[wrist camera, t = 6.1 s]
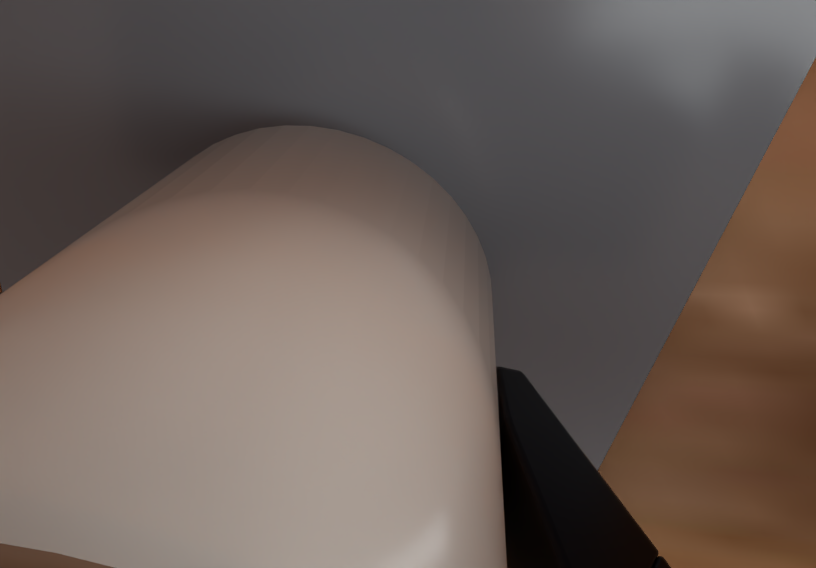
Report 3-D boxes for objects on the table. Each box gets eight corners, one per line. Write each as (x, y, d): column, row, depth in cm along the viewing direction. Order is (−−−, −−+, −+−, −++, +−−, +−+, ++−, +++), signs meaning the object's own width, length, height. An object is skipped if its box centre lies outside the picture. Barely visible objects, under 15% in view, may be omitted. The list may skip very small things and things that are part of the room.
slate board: (864, -88, 8) (894, -92, 7) (544, 544, 15) (547, 565, 14) (-86, -301, 8) (-127, -321, 7) (52, 440, 15) (37, 458, 14)
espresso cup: (539, 173, 8) (686, 657, 3) (428, 515, 12) (389, 1003, 6) (133, 84, 8) (-643, 375, 2) (154, 456, 12) (-127, 897, 6)
